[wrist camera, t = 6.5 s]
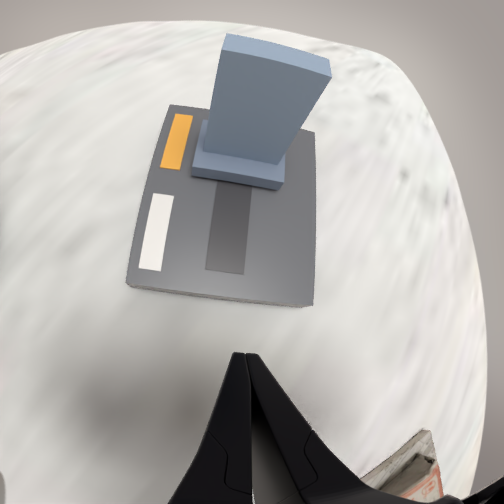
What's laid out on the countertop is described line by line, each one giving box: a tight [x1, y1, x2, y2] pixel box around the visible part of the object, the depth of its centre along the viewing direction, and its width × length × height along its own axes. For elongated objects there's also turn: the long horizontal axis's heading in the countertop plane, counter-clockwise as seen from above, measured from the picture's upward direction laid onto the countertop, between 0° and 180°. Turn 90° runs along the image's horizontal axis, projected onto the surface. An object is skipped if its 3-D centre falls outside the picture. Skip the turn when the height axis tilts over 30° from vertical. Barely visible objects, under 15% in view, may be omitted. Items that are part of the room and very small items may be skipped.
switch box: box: [126, 105, 316, 308], centre depth 20 cm, size 14×12×2 cm
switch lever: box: [191, 34, 332, 190], centre depth 15 cm, size 4×6×10 cm, turn 85°
